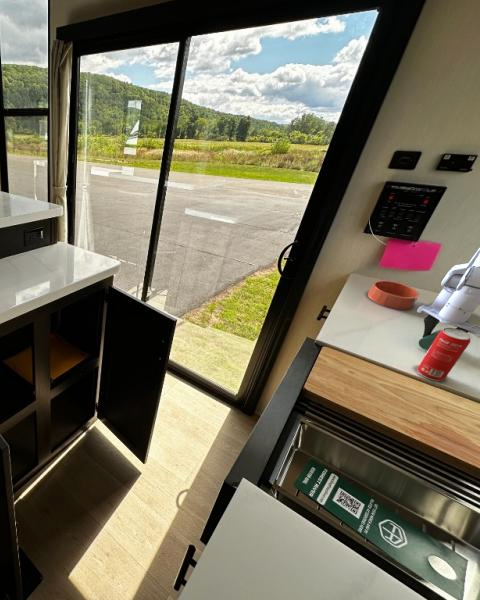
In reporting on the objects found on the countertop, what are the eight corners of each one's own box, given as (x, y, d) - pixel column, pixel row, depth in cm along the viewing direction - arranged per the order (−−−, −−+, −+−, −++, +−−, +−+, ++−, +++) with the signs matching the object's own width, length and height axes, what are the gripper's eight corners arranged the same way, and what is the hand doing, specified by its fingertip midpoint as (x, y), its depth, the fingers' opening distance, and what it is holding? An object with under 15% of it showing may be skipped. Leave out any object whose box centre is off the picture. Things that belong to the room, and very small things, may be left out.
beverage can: (448, 383, 88) (484, 342, 80) (421, 380, 89) (453, 339, 81) (433, 368, 93) (465, 327, 85) (407, 365, 94) (437, 325, 86)
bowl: (380, 288, 130) (386, 277, 128) (419, 304, 120) (427, 292, 117) (360, 295, 126) (365, 285, 123) (399, 313, 116) (406, 301, 113)
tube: (431, 337, 103) (438, 327, 101) (447, 344, 100) (455, 334, 98) (415, 345, 101) (422, 335, 98) (431, 352, 97) (439, 343, 95)
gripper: (422, 297, 97) (399, 331, 104) (488, 322, 85) (457, 359, 93) (434, 291, 99) (411, 326, 106) (501, 316, 88) (470, 352, 95)
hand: (433, 341), depth 100 cm, fingers closed on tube, 4 cm apart
